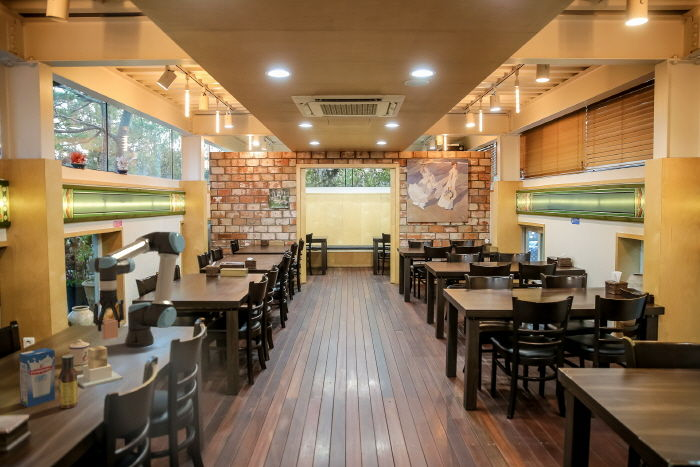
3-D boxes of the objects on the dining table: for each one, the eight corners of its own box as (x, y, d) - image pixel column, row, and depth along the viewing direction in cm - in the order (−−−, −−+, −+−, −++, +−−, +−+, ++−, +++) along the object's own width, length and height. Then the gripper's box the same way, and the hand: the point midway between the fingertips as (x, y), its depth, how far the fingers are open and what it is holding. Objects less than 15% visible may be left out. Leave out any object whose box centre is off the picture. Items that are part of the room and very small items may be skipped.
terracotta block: (113, 334, 238) (112, 318, 238) (117, 337, 234) (117, 320, 234) (100, 336, 234) (99, 320, 233) (104, 339, 230) (104, 322, 229)
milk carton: (27, 407, 185) (27, 356, 184) (19, 404, 188) (19, 353, 187) (55, 399, 194) (54, 350, 193) (47, 396, 197) (46, 347, 196)
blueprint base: (109, 370, 229) (109, 358, 228) (122, 379, 218) (122, 366, 218) (71, 378, 217) (71, 365, 217) (84, 388, 206) (84, 374, 206)
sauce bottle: (64, 403, 190) (63, 353, 189) (80, 402, 191) (80, 353, 190) (55, 409, 184) (55, 358, 183) (72, 409, 184) (72, 358, 183)
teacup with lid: (86, 365, 236) (86, 341, 235) (66, 366, 234) (66, 342, 233) (94, 358, 248) (93, 335, 247) (74, 359, 246) (74, 336, 245)
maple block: (102, 362, 222) (102, 345, 221) (107, 365, 217) (107, 348, 217) (88, 365, 217) (87, 348, 217) (92, 368, 213) (92, 350, 213)
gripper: (125, 285, 242) (125, 331, 244) (84, 290, 228) (85, 338, 230) (131, 287, 237) (132, 334, 238) (89, 292, 223) (90, 341, 225)
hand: (109, 336), depth 234 cm, fingers closed on terracotta block, 6 cm apart
